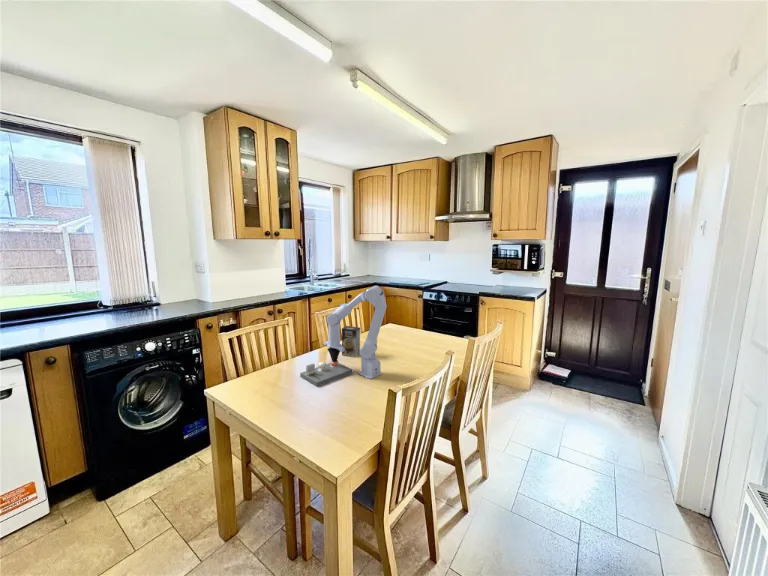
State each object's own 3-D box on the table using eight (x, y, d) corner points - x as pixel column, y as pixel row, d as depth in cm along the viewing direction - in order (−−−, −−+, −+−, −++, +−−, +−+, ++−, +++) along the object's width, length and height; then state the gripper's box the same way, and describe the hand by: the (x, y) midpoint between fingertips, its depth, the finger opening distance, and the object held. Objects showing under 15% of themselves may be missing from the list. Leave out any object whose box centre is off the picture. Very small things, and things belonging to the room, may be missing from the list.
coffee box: (341, 355, 179) (341, 328, 176) (346, 351, 185) (346, 325, 182) (355, 357, 176) (355, 330, 173) (360, 353, 182) (360, 327, 179)
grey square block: (315, 373, 150) (315, 364, 149) (308, 375, 147) (308, 366, 146) (312, 371, 152) (312, 362, 151) (305, 373, 149) (305, 365, 148)
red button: (339, 365, 160) (339, 361, 159) (333, 367, 157) (333, 363, 157) (335, 363, 162) (335, 359, 162) (329, 365, 160) (329, 361, 159)
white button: (327, 367, 154) (327, 363, 154) (321, 369, 152) (321, 365, 151) (323, 365, 157) (323, 361, 156) (317, 367, 154) (317, 363, 154)
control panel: (352, 373, 156) (352, 369, 155) (316, 386, 141) (316, 382, 140) (335, 364, 165) (335, 361, 165) (300, 376, 150) (300, 372, 150)
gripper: (319, 334, 159) (319, 359, 162) (336, 341, 149) (336, 367, 152) (330, 331, 164) (331, 356, 167) (348, 338, 154) (348, 363, 156)
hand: (334, 361), depth 159 cm, fingers closed, pressing on red button
